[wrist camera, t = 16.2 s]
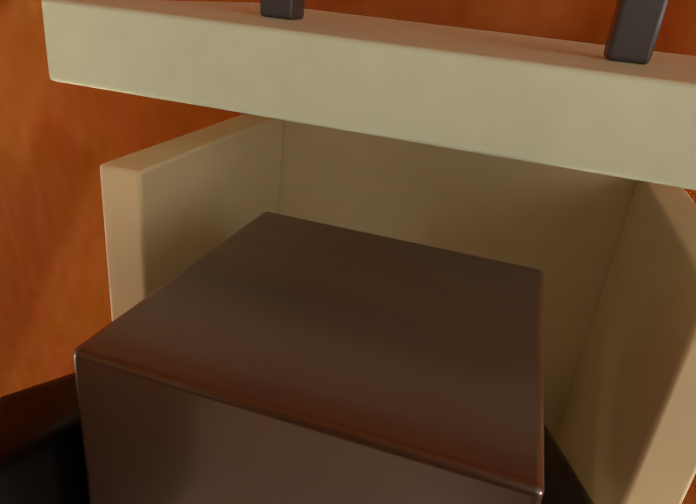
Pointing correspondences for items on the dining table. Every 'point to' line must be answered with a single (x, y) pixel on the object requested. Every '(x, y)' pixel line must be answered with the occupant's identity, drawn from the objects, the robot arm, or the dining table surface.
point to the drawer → (434, 181)
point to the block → (320, 377)
